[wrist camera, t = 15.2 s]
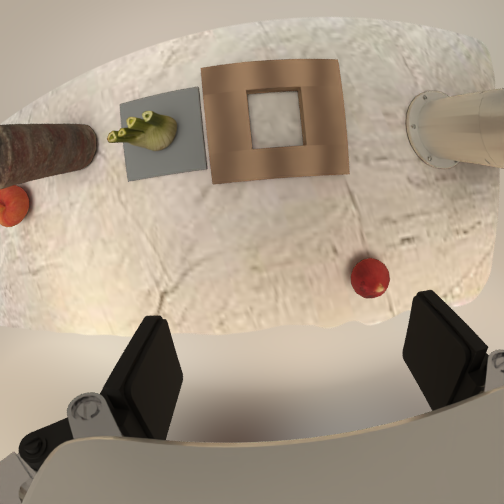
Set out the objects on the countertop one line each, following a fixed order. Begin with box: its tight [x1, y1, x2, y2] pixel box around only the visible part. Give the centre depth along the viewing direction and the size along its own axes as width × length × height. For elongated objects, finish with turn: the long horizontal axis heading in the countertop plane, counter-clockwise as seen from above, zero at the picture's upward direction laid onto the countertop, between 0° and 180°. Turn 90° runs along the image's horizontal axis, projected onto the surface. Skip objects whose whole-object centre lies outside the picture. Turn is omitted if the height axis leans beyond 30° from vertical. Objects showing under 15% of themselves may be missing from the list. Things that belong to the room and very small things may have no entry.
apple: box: [0, 185, 29, 227], centre depth 37 cm, size 7×7×8 cm
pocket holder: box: [201, 59, 349, 184], centre depth 36 cm, size 18×16×3 cm
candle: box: [0, 124, 96, 189], centre depth 29 cm, size 8×7×20 cm
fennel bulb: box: [107, 111, 177, 151], centre depth 32 cm, size 6×5×12 cm
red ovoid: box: [351, 258, 390, 298], centre depth 40 cm, size 6×6×8 cm
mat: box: [120, 87, 207, 182], centre depth 37 cm, size 12×12×1 cm
